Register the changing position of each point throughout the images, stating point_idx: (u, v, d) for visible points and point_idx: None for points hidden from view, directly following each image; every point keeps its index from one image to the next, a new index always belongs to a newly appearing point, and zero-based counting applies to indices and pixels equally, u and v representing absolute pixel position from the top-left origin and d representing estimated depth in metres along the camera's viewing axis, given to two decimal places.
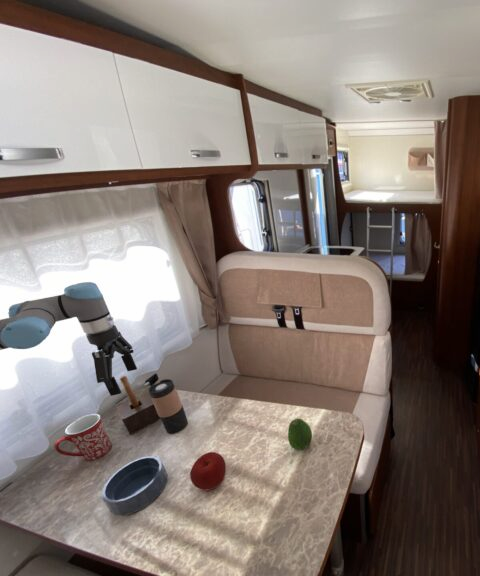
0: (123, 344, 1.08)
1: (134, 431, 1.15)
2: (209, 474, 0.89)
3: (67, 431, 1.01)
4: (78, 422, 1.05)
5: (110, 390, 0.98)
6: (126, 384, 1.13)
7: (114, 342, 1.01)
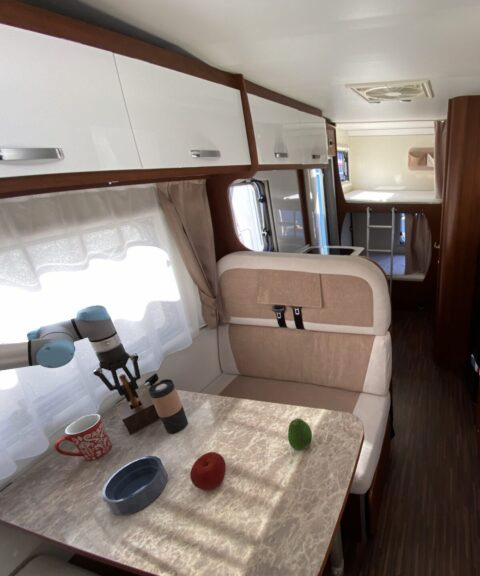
0: (134, 369, 1.15)
1: (134, 431, 1.15)
2: (209, 474, 0.89)
3: (67, 431, 1.01)
4: (78, 422, 1.05)
5: None
6: (125, 382, 1.14)
7: (119, 360, 1.10)
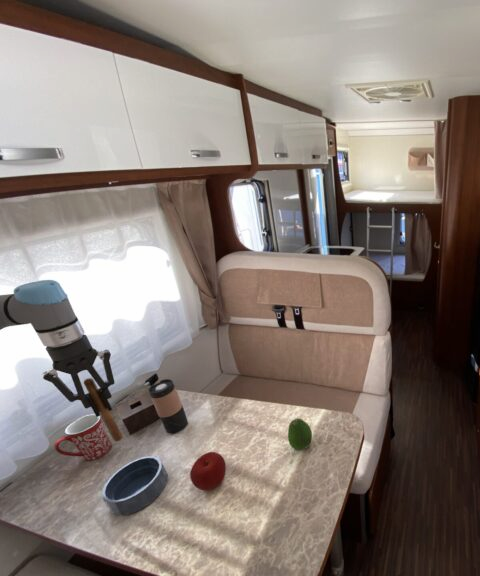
0: (105, 371, 0.83)
1: (134, 431, 1.15)
2: (208, 474, 0.89)
3: (67, 431, 1.01)
4: (78, 422, 1.05)
5: None
6: (93, 390, 0.83)
7: (82, 359, 0.78)
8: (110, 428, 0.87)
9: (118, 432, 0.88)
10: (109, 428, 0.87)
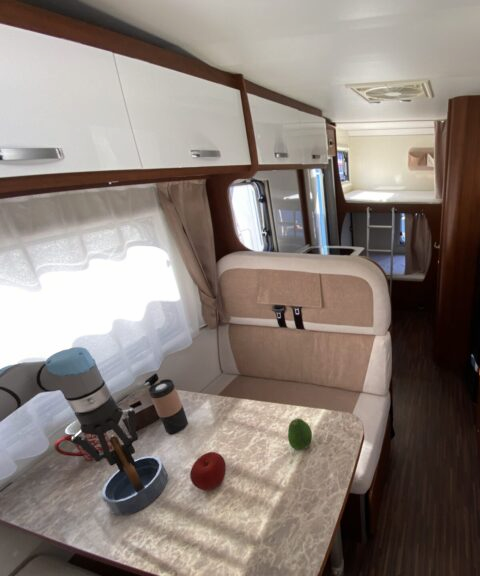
0: (129, 428, 0.85)
1: None
2: (208, 474, 0.89)
3: (67, 431, 1.01)
4: (78, 422, 1.05)
5: None
6: (117, 446, 0.85)
7: (108, 420, 0.80)
8: (134, 482, 0.89)
9: (141, 484, 0.90)
10: (132, 481, 0.89)
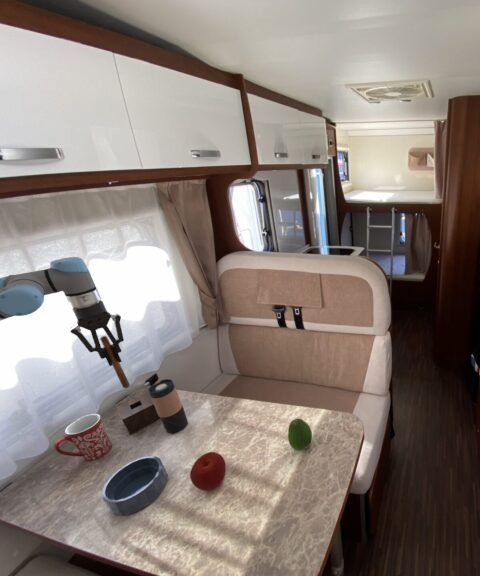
0: (116, 331, 1.06)
1: (134, 431, 1.15)
2: (208, 474, 0.89)
3: (67, 431, 1.01)
4: (78, 422, 1.05)
5: None
6: (107, 344, 1.06)
7: (99, 319, 1.01)
8: (120, 377, 1.10)
9: (126, 380, 1.12)
10: (119, 376, 1.10)
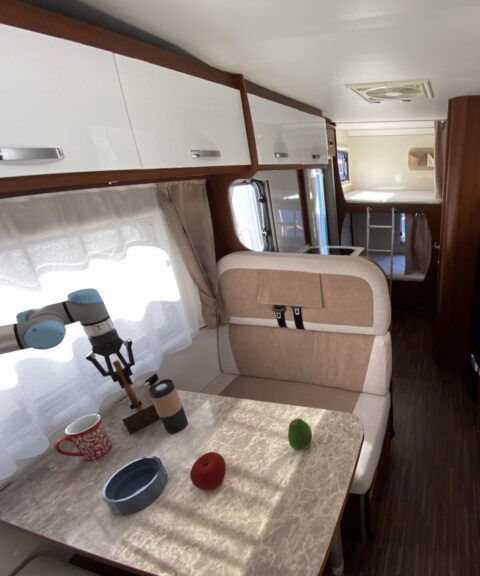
0: (128, 355, 1.12)
1: (134, 431, 1.15)
2: (208, 474, 0.89)
3: (67, 431, 1.01)
4: (78, 422, 1.05)
5: None
6: (119, 368, 1.12)
7: (112, 345, 1.07)
8: (131, 398, 1.16)
9: (137, 401, 1.18)
10: (130, 398, 1.16)
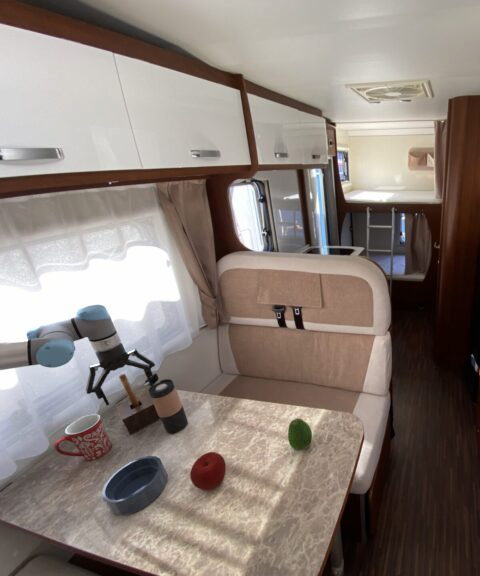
0: None
1: (134, 431, 1.15)
2: (208, 474, 0.89)
3: (67, 431, 1.01)
4: (78, 422, 1.05)
5: None
6: (125, 382, 1.14)
7: (118, 361, 1.09)
8: None
9: None
10: None
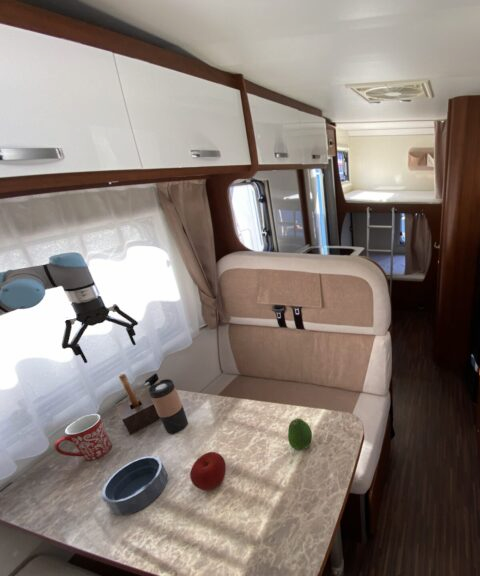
0: None
1: (134, 431, 1.15)
2: (208, 474, 0.89)
3: (67, 431, 1.01)
4: (78, 422, 1.05)
5: None
6: (125, 382, 1.14)
7: (97, 315, 1.02)
8: None
9: None
10: None
